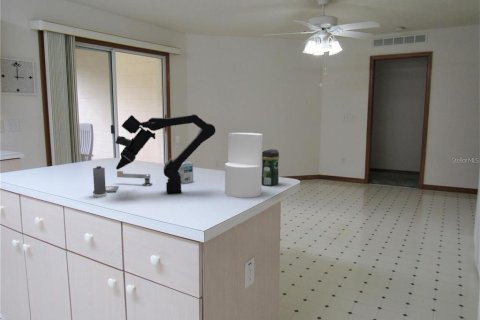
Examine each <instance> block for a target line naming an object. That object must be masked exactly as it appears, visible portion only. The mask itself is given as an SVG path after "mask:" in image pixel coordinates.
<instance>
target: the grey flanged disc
mask: <svg viewBox="0 0 480 320" xmlns="http://www.w3.org/2000/svg"><path fill="white" fill-rule="evenodd" d="M143 186H144V187H151V186H153V183H152V182H151V178H150V179H144V182H143V183H142V187H143Z"/></svg>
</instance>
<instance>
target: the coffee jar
mask: <svg viewBox="0 0 480 320" xmlns="http://www.w3.org/2000/svg"><path fill="white" fill-rule="evenodd" d="M279 154H280V152H279V150H278V149H271V148H270V149H267V150H262V183H261V185H264V186H266V187H268V186H276V185H278V184H279V160H280V159H279V158H280V155H279Z"/></svg>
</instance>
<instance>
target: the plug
mask: <svg viewBox="0 0 480 320" xmlns="http://www.w3.org/2000/svg"><path fill="white" fill-rule="evenodd" d="M105 169H106V168H105V167H102V166H101V165H97V166H96V167H93V168H92V173H93V175H92V176H93V191H94V193H93V192H92V194H93V197H94V198H104V197H107V196H108V193H107V192H106V172H105V171H106V170H105Z"/></svg>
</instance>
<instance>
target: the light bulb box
mask: <svg viewBox="0 0 480 320" xmlns="http://www.w3.org/2000/svg"><path fill="white" fill-rule="evenodd" d="M178 172H179V173H180V176H181V184H188V183H193V182H194V162H192V161H191V162H190V161H187V160H185V161H184V162H183V163H182V165H181V167H180V169H179V170H178Z"/></svg>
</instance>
